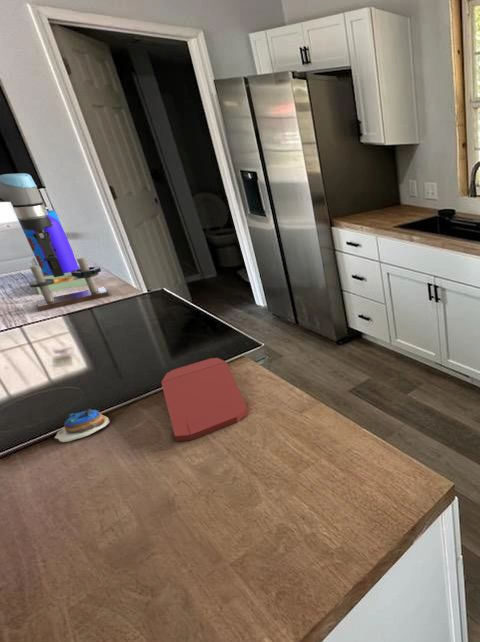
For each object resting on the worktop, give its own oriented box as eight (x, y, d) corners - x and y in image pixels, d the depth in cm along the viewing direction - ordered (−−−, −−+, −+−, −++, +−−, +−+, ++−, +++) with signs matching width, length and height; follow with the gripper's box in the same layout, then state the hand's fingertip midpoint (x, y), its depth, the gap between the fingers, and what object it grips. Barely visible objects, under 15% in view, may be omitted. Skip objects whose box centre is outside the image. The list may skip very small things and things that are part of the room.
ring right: (66, 277, 141) (64, 273, 140) (84, 270, 147) (82, 266, 147) (89, 276, 141) (87, 272, 141) (106, 269, 148) (104, 265, 148)
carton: (254, 428, 87) (226, 367, 102) (249, 411, 85) (221, 351, 100) (183, 458, 79) (164, 386, 95) (175, 440, 77) (158, 370, 92)
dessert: (121, 413, 85) (94, 404, 80) (105, 446, 82) (76, 439, 77) (85, 415, 86) (56, 406, 81) (67, 448, 82) (36, 441, 77)
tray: (37, 285, 159) (34, 278, 158) (84, 276, 168) (82, 270, 167) (39, 294, 150) (36, 287, 149) (89, 284, 159) (86, 278, 158)
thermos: (36, 274, 171) (9, 215, 162) (67, 266, 181) (43, 210, 172) (55, 276, 169) (28, 216, 160) (85, 268, 178) (62, 211, 169)
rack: (40, 312, 135) (20, 270, 130) (39, 306, 140) (20, 265, 135) (109, 296, 147) (94, 258, 142) (106, 291, 152) (91, 254, 147)
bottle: (53, 276, 169) (21, 203, 159) (81, 271, 175) (52, 200, 164) (52, 280, 164) (18, 205, 153) (81, 275, 169) (50, 202, 158)
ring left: (43, 286, 155) (42, 283, 155) (61, 280, 162) (60, 276, 162) (64, 286, 156) (62, 282, 155) (81, 279, 163) (79, 276, 162)
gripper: (50, 220, 145) (74, 276, 152) (46, 211, 160) (68, 263, 168) (19, 224, 139) (45, 282, 147) (17, 214, 155) (41, 268, 162)
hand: (58, 272), depth 157 cm, fingers open, 13 cm apart
